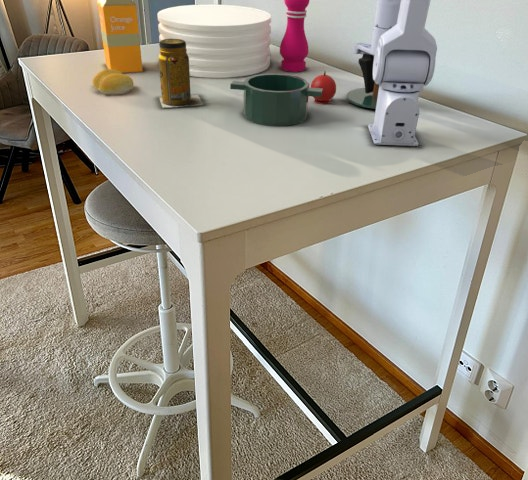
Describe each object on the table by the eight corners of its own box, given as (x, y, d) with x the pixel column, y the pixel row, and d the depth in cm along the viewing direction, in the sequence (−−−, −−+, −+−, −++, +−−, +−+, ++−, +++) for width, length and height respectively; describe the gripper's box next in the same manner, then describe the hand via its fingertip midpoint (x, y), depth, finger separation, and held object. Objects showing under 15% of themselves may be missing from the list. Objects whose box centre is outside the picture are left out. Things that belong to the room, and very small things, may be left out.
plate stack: (140, 59, 142) (135, 10, 136) (224, 45, 158) (223, 1, 151) (205, 84, 126) (203, 30, 119) (292, 66, 141) (294, 17, 135)
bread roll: (107, 98, 116) (105, 78, 114) (88, 88, 121) (85, 69, 119) (142, 91, 120) (140, 72, 118) (122, 81, 126) (119, 63, 124)
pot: (315, 130, 104) (318, 96, 100) (223, 121, 107) (223, 87, 103) (323, 109, 114) (326, 77, 110) (239, 101, 117) (239, 70, 113)
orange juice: (111, 73, 131) (98, -22, 119) (105, 64, 138) (92, -27, 126) (143, 71, 134) (134, -23, 122) (136, 62, 140) (127, -28, 128)
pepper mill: (291, 74, 135) (297, -18, 123) (273, 67, 140) (276, -22, 128) (313, 69, 139) (320, -20, 127) (294, 63, 143) (299, -24, 132)
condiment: (159, 97, 117) (153, 37, 110) (198, 95, 119) (195, 36, 112) (162, 108, 111) (157, 45, 104) (203, 106, 113) (201, 44, 106)
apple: (335, 106, 116) (339, 75, 112) (309, 105, 116) (312, 74, 112) (333, 98, 120) (336, 68, 117) (308, 97, 120) (311, 67, 117)
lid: (408, 115, 113) (413, 90, 110) (342, 108, 115) (345, 84, 112) (408, 95, 123) (412, 73, 120) (348, 90, 125) (350, 68, 123)
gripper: (430, 30, 108) (417, 99, 116) (371, 18, 116) (363, 84, 124) (409, 34, 104) (397, 106, 112) (350, 22, 112) (343, 89, 120)
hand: (378, 95), depth 118 cm, fingers open, 4 cm apart
